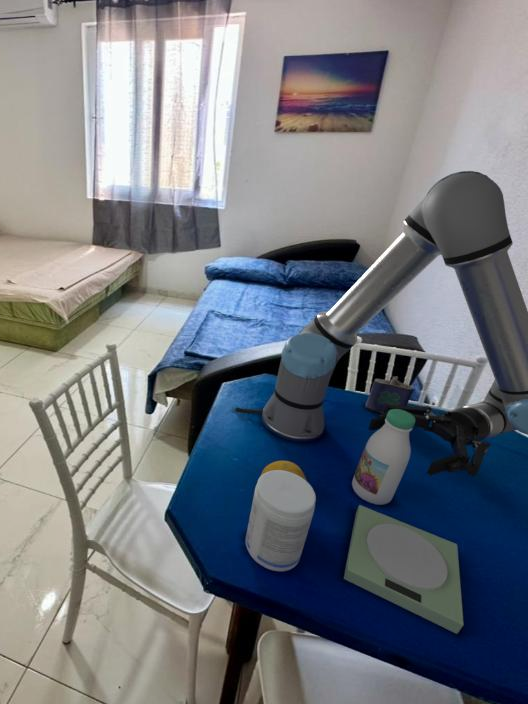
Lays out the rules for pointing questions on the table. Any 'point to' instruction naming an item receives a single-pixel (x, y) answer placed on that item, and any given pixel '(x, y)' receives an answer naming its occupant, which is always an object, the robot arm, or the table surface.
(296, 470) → the fruit
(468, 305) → the robot arm
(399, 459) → the milk bottle
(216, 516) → the table surface
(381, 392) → the flask
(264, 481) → the supplement tub
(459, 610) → the scale
